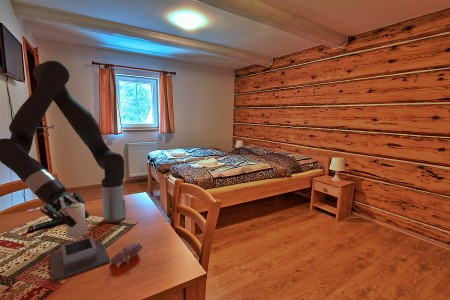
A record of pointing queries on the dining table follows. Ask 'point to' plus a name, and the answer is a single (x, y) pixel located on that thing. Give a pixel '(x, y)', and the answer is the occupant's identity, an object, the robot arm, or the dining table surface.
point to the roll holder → (77, 258)
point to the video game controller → (126, 253)
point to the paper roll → (79, 216)
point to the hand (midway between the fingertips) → (80, 221)
